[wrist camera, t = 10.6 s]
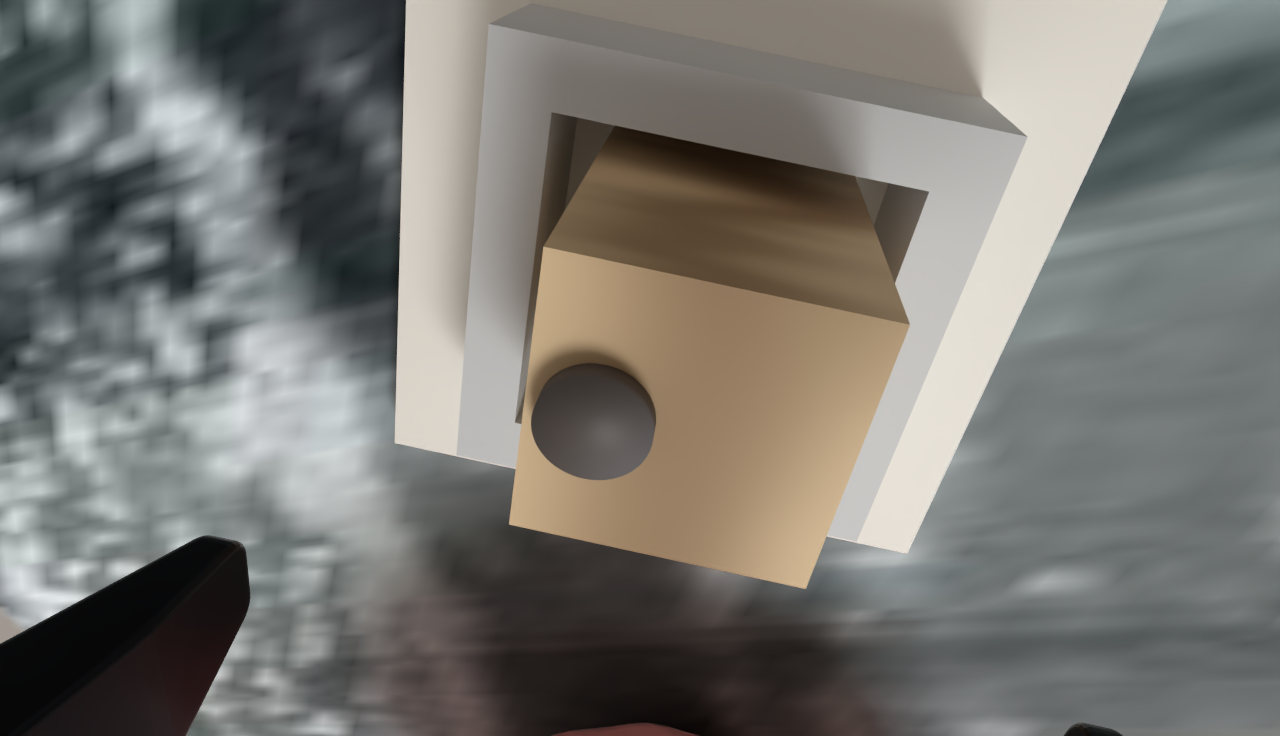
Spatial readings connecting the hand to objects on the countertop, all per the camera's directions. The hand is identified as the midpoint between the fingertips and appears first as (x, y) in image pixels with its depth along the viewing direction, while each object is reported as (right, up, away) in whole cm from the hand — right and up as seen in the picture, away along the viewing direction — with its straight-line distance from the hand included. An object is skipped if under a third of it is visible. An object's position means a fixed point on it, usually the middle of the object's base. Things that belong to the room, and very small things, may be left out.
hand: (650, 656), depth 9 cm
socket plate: (+1, +6, +10) cm, 12 cm away
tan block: (+1, +6, +9) cm, 11 cm away
